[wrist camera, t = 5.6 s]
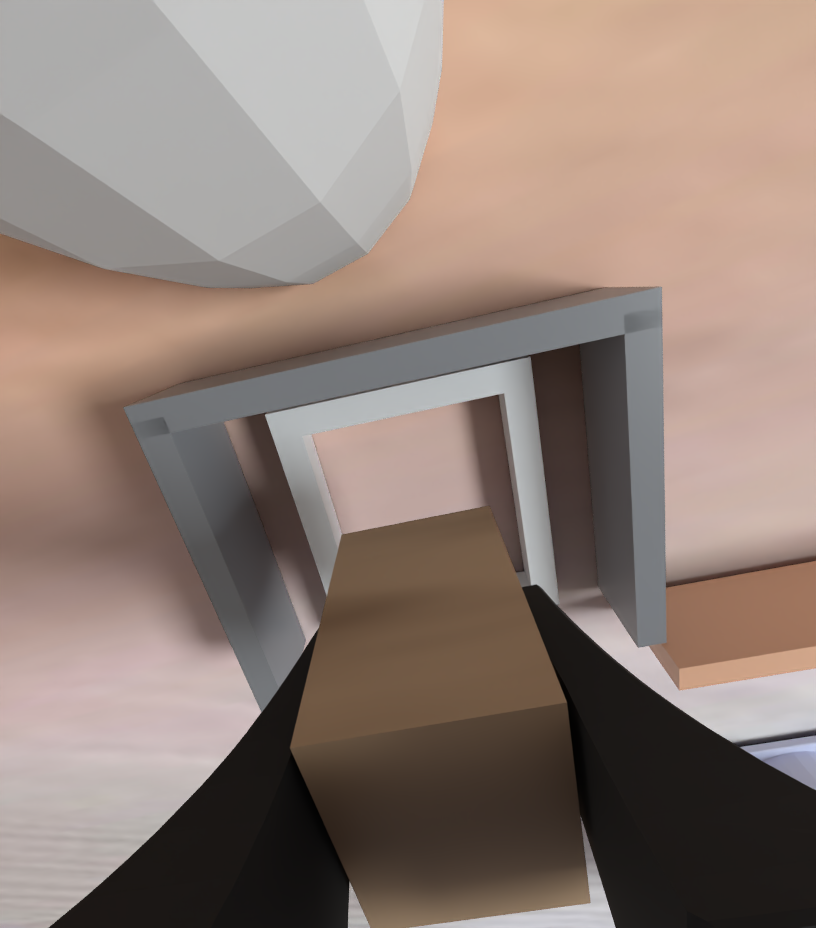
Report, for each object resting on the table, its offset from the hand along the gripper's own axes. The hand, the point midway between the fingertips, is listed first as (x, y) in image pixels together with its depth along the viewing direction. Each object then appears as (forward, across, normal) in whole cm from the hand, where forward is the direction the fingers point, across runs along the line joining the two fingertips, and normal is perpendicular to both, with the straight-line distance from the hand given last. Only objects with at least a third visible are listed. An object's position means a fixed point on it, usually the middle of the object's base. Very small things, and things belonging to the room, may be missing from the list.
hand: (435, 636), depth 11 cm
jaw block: (+2, 0, 0) cm, 2 cm away
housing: (+7, 0, 0) cm, 7 cm away
